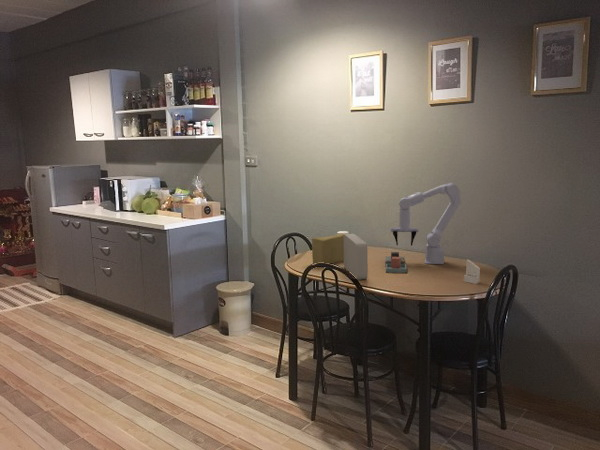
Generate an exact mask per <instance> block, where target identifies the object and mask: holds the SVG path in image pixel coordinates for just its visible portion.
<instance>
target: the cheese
mask: <svg viewBox="0 0 600 450" xmlns="http://www.w3.org/2000/svg"><path fill="white" fill-rule="evenodd" d="M343 238H344V233H343V234H338V235H337V234H333V235H329V236H319V237H312V238H311V252H312V253H311V254H312V255H311V256H312V264H313V263H318V262H324V263H333V264H336V263H340V261H341V262H344V242H343Z"/></svg>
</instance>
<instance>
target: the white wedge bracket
mask: <svg viewBox="0 0 600 450" xmlns="http://www.w3.org/2000/svg"><path fill="white" fill-rule="evenodd" d="M465 268H466V269H465V270H466V271H465V272H466V273H465V274H464V275H463V277H464V278H463V281H464V282H465V283H470V284H475V285H476V284H478V283H480V278H481V277H480V276H481V272H480V271H481V268H480V267H479V266H478V265H476V263H474V262H472V261H471V260H470V258H469V259H466V266H465Z"/></svg>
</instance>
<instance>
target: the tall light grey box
mask: <svg viewBox="0 0 600 450" xmlns="http://www.w3.org/2000/svg"><path fill="white" fill-rule="evenodd" d="M343 242H344V261H343V266H344V268H345V270H348V271H349V272H351V273H352V274H353V275H354V276H355V277H356V279H357V280H358V281H359V280H367V279H368V274H369V273H368V269H369V268H368V244H367V242H365V241H364V240H363V239H362V238H360V237H359V236H358V235H356V234H355V233H348V234H344V238H343ZM348 271H347V272H348ZM349 272H348V273H349ZM357 280H356V281H357Z"/></svg>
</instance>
